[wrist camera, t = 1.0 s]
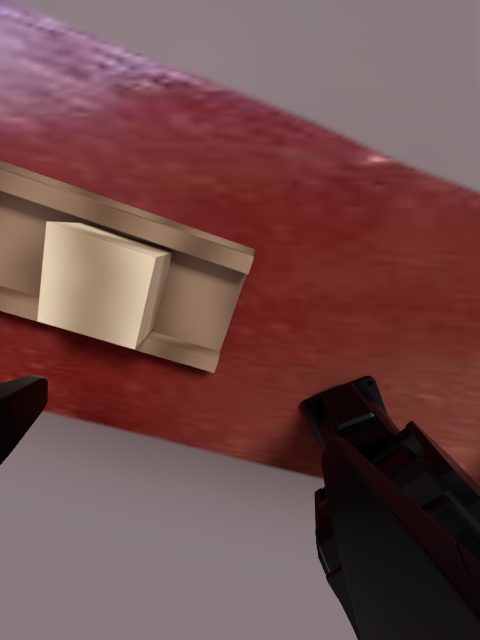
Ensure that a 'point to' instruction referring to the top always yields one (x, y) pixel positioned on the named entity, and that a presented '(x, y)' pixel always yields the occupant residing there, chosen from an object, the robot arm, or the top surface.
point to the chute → (185, 242)
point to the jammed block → (101, 283)
